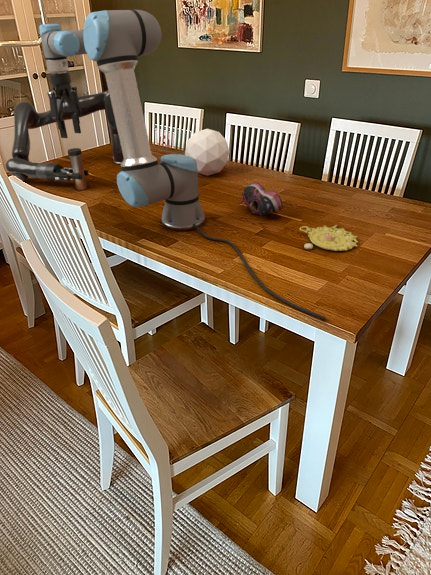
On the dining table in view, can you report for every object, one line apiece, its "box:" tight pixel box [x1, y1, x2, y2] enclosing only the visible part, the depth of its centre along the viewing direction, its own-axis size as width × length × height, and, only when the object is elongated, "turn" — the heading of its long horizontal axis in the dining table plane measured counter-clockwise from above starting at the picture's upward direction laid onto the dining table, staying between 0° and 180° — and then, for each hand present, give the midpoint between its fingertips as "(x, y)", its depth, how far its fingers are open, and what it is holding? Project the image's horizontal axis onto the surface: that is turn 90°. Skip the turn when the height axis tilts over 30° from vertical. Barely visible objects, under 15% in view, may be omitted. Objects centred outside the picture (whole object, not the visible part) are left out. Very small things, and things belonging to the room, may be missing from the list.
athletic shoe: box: [238, 182, 284, 217], centre depth 160 cm, size 11×22×12 cm
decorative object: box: [299, 224, 359, 252], centre depth 141 cm, size 21×2×20 cm
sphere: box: [184, 128, 231, 177], centre depth 195 cm, size 19×20×20 cm
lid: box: [67, 147, 82, 157], centre depth 180 cm, size 5×5×2 cm
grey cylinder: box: [69, 154, 88, 191], centre depth 184 cm, size 4×4×16 cm
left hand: (84, 175), depth 185 cm, fingers closed on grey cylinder, 4 cm apart
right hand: (71, 135), depth 177 cm, fingers open, 7 cm apart
